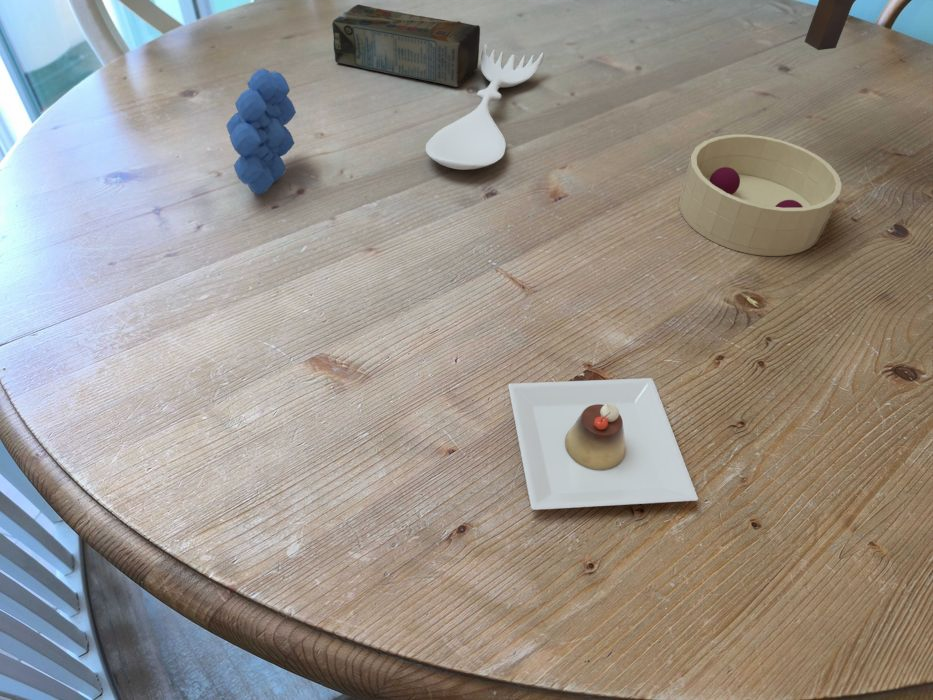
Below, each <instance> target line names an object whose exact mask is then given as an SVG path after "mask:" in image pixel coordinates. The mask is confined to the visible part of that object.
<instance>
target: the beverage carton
mask: <svg viewBox="0 0 933 700" xmlns="http://www.w3.org/2000/svg"><path fill="white" fill-rule="evenodd" d="M331 26H332V27H331V28H332V34H333V52H334V61H335V63H337V64H343V65H348V66H353V67H357V68H360V69H365V70H370V71H375V72H381V73H384V74H391V75H395V76H399V77H405V78H412V79H417V80H422V81H426V82H432V83H437V84H441V85H446V86H450V87H454V88H459V87H460V86H461V85H462V84H463V83H464V82H465V81H466V80H467V79H468V78H469V77H470V76H471V75H472V74H473V73H475V71H476V70H478V68H479V58H480V41H481V40H480V39H481V27H480V25H477V24H476V25H475V24H471V23H466V22H462V21H459V20H458V21H455V20H454V21H453V20H447V19H441V18H434V17H429V16H423V15H416V14H411V13H405V12H401V11H394V10H388V9H383V8H378V7H377V8H376V7H372V6H369V5H363V4H356V5H354V6H353V7H351V8H349V10H347V11H342V12H341V14H340V15H339V16H337V17H336V18H335V19H333V20H332V22H331Z"/></svg>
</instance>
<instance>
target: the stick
mask: <svg viewBox="0 0 933 700" xmlns="http://www.w3.org/2000/svg"><path fill="white" fill-rule="evenodd" d="M854 2H855V0H818V2H817V5H816V8H815V11H814V13H813V16H812V18H811V21H810V25H809V28H808V30H807V33H806V35H805V39H804V43H805V44H807V45H809V46H810V47H812V48H814V49H816V50H817V51H824V50H831V49H836V48H837V46H838V43H839V41H840V38H841V36H842V33H843V30H844V28H845V25H846V23H847V20H848V17H849V15H850V13H851V9H852V7H853V5H854Z"/></svg>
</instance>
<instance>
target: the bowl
mask: <svg viewBox="0 0 933 700" xmlns="http://www.w3.org/2000/svg"><path fill="white" fill-rule="evenodd" d="M723 167H729V168H732V169H734V170H735V171H736V172H737V173H738V175H739V177H740V185H739V188H738V189H737V191H736V192H735V193H734V194H732V195H731V194H728V193H726V192H725V191H723V190H721V189H720V188H718V187H716V186H715V185H713V184H712V183H711V182H710V181H709V180H710V177H711V175H712V174H713V173H714V172H715V171H716V170H717V169H719V168H723ZM842 186H843V184H842V181H841V178H840V175H839V173H838V172H837V170H835V169H834V167H832V165H831V164H830V163H828V161H826V160H825V159H823V158H822V157H820V156H819V155H817V154H816V153H814V152H812V151H810V150H808V149H806V148H805V147H802V146H800V145H797V144H794V143H791V142H789V141H786V140H781V139H778V138H774V137H770V136H764V135H755V134H743V133H742V134H739V133H737V134H734V133H733V134H726V135H719V136H715V137H712V138H709V139H706V140H703V141H702V142H701V143H700V144H698V145H696V146H695V148H694V149H693V152H692V153H691V155H690V158H689V162H688V165H687V168H686V172H685V176H684V178H683V183H682V187H681V191H680V195H679V201H678V206H679V207H678V208H679V211H680V213H681V216H682V217H683V219H684V221H685V222H686V223H687V225H689V226H690V227H691V228H692V229H693V230H694V231H695V232H697V233H698V234H699V235H700V236H702V237H704V238H705V239H707V240H709V241H710V242H712V243H715V244H717V245H719V246H721V247H724V248H726V249H729V250H733V251H735V252H740V253H744V254H749V255H755V256H761V257H762V256H763V257H784V256H791V255H795V254H801V253H802V252H805V251H808V250H809V249H810V248H812V247H814V245H816V244H817V243H818V241H819V240H820V239H821V236H822V234H823V233H824V231H825V230H826V226H827V224H828V222H829V220H830V218H831V215H832V213H833V211H834V209H835V206H836V205H837V203H838V200H839V198H840V195H841V192H842ZM784 200H795V201H797V202H799V203H800V204H801V205H802V206H803V207H801V208H781V207H775V206H776V205H777V204H778V203H780V202H782V201H784Z"/></svg>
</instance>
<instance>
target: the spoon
mask: <svg viewBox="0 0 933 700" xmlns="http://www.w3.org/2000/svg"><path fill="white" fill-rule="evenodd" d="M495 58H496V48H494V49H492V51H491V53H490V55H488V44H487V43H485V44H484V46H483V48H482V50H481V56H480V71H481V73H482V75H483V76H484V78H485V79H486V80H487V81H488V82H489V85H488V86H487V87H486V88H484V89H480V90H478V91H477V93H476V95H477V98H480V99H481V101H480V103H479V104H478V106H477V107H476V108H475V109H473V110H472V111H470V112H469V113H468V114H466V115H463V116H462V117H461V118H458V119H457V120H455V121H454V122H452V123H450V124H447V125H445V126H444V127H442V128H440V129H439V130H438V131H437V132H436V133H434V134H433V136H432V137H430V138H429V140H428V141H427V142H426V144H425V152H426V154H427V155H428V156H429V158H430V159H431V160H433V161H435V163H437V164H439V165H441V166H444V167H445V168H450V169H454V170H476V169H477V170H478V169H481V168H485V167H488V166H491V165H493V164H495V163H497V162H498V161H499V160H501V159H502V158H503V157H504V155H505V152H506V149H507V148H506V145H507V144H506V139H505V136H504V135H503V132H502V131H501V130H500V128H499V127H498V125H497V124H496V122H495V121H494V119H493V117H492V115H491V114H490V109H489V106H490V104H491V103H492V102H495V101H499V100H501V99H502V94H501V93H500V92H499V88H511V87H515V86H517V85H520V84H522V83H525V82H526V81H528V80H529V79H530V78H531V77H532V76H533V75H534V74H535V73H536V71H537V70H538V68H539V67H540V66H541V65H542V63H543V61H544V58H545V53H544V52H541V54H540V55H539V56H538V58H537V59H536V60H535V61H534V58H535V53H534V54H532V55H531V56H530V58H529V60H528V61H527V63H526V64H525V62H526V54H524V55H523V56H522V58H521V60H520V62H519V63H518V65H517V66H516V68H515V63H516V56H515V54H514V53H513V54H511V55H510V56H509V58H508V60H507V61H506V63H505V65H504V66H503V65H502V64H503V58H504V50H502V51H501V53H500V54H499V56H498V58H497V60H496V62H495ZM502 66H503V67H502Z"/></svg>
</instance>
